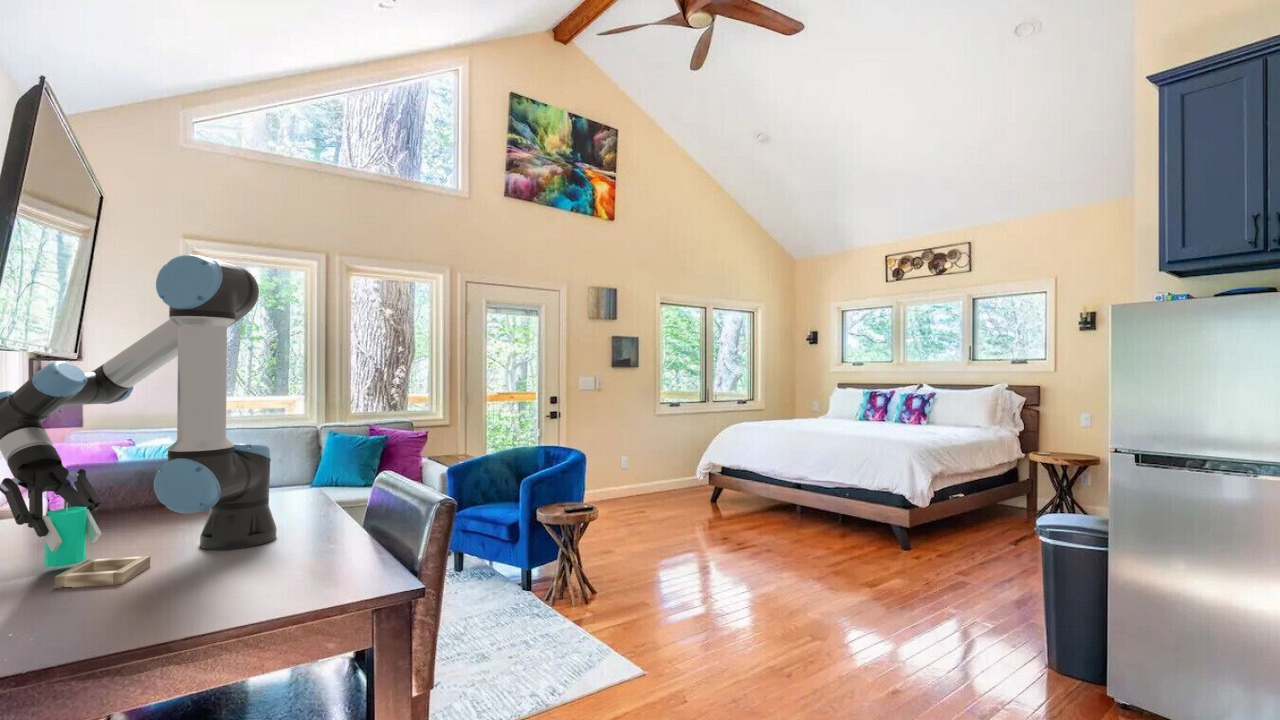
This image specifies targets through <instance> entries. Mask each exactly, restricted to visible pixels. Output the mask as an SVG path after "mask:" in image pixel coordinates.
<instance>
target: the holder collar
mask: <svg viewBox="0 0 1280 720" xmlns="http://www.w3.org/2000/svg"><path fill="white" fill-rule="evenodd" d="M151 557H152V556H151V555H146V556H145V555H144V556H143V555H142V556H125V557H107V558H92V559H87V560H84V561H82V562H80V563H78V564H77V565H75V566H73V567H71V568H69V569H67V570H65V571H63V572H61V573H59V574H57V575H55V576H54V583H53V584H54V586H53V587H54V588H58V589H63V588H62V587H72V588H83V587H85V586H86V587H97V586H98V587H100V586H101V587H102V586H113V585H114V586H115V585H123V584H125V583H127V582H128V581H129V580H132V579H133V578H135V577H136V576H138V575H139V574H141V573H144V571H146V570H147V569H149V568H150V567H151Z"/></svg>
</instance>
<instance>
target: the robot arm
mask: <svg viewBox="0 0 1280 720" xmlns="http://www.w3.org/2000/svg"><path fill="white" fill-rule="evenodd" d="M155 289H156V293H157V295H158V297H159V298H160V299H161V300H162V302H163V303H164V304H166V305H167V306H168V312H169V313H168V316H169V317H168V320H166V321H164V322H163V323H161V324H160V325H158V326H157V327H156V328H154V329H153V330H151V331H150V332H149V333H147V334H146V335H144V336H142V337H141V338H139V339H138V340H137V341H135V342H134V343H133V344H131V345H130V346H128V347H127V348H125V349H123V350H122V351H120V352H119V353H118V354H116V355H115V356H113V357H112V358H110V359H109V360H107V361H106V362H105V363H103V364H101V365H100V366H98V367H96V368H95V369H94V370H91V371H83V370H82V369H81V368H80V367H78V366H77V365H74V364H72V363H68V362H66V361H64V360H63V361H61V360H58V361H52V362H50V363H48V364H46V366H44V367H43V368H41V369H40V370H38V371H37V372H35V373H34V375H32V376H31V377H30V378H29V379H28V380H27V381H25V382H24V383H23V384H22V385H21V386H20V387H19V388H18V389H16V390H4V391H0V452H1V455H2V457H3V458H4V460H5V462H6V463H7V467H8V468H9V471H10V472H11V474H12V476H13V478H9V477H5V478H4V479H3V480H2V481H1V482H0V492H1V494H3V495H4V496H5V498H6V501H7V504H8V505H9V509H10V511H11V514H12V516H13V518H14V521H15V523H16V525H18V526H22V525H24V524H27V527H28V528H30V529H34V531H35V533H36V535H37V537H39V538H42V537H43V538H44V540H46V542H47V544H48V546H49V548H50V550H51V552H52V551H56V550H57V549H58V547H59V546H60V545H61V543H62V540H61V538H60V536H59V534H58V532H57V530H56V529H55V527H54V525H53V523H52V521H51V519H50V518H49V516H46V515H45V516H44V511H43V510H44V503H43V501H44V500H43V499H44V498H43V497H44V496H43V495H44V494H43V493H46V492H52V493H54V495H56V496H60V497H61V498H62V499H63V500H64V501H65V502H66V503H67V502H68V504H69V505H70V506H71V507H87V526H86V537H88V540H89V542H90V543H92V544H93V543H96V542H97V541H98V539H99V538H100V537H101V535H102V531H101V530H100V528H99V526H98V523H99V522H100V521H99V520H100V519H99V517H98V515H97V514H96V512H97V511H98V509H99V508H100V506H101V505H102V503H103V501H102V499H101V498H100V496H99V495H98V493H97V492H96V490H95V489H94V487H93V486H92V484H91V483H90V481H89V480H88V478H87V472H86V470H85V469H84V468H80V469H78V471H72V470H71V471H70V470H69V469H68V468H66V467H65V466H64V465H63V462H62V459H61V458H62V457H60V455H59V453H58V451H57V449H56V447H55V445H54V443H53V441H52V440H51V437H50V436H49V434H48V432H47V431H46V429H45V427H44V425H43V422H44V421H45V420H46V419H47V418H49V417H50V416H51V415H53V414H54V413H55V412H56V411H57V410H59V408H61V407H66V406H67V407H69V406H83V405H84V406H85V405H100V404H102V405H111V404H115V403H119V402H123V401H126V400H127V399H128V398H130V396H131V394H132V392H133V390H134V386H135V385H137V384H139V383H140V382H141V381H143V380H144V379H146V378H147V377H149V376H150V375H151V374H153V373H155V372H156V371H157V370H159V369H161V368H162V367H163V366H165V365H167V364H168V363H169V362H171V361H173V360H174V359H175V358H177V399H176V400H177V403H176V404H177V406H176V407H177V408H176V409H177V411H176V412H177V413H176V414H177V415H176V417H177V418H176V420H177V421H176V424H177V426H176V427H177V428H176V429H177V430H176V440H175V441H174V443H172V444H171V445H170V446H169V447H168V448H167V462H165V463H164V464H163V465H161V467H160V468H159V469H158V470H157V471H156V473H155V475H154V479H153V490H154V493H155V496H156V497H157V499H158V501H159V502H160V503H161V504H162V505H164V506H165V507H166V508H167V509H169V510H170V511H172V512H175V513H179V514H193V513H201V512H205V511H208V510H209V513H208V516H207V518H206V521H205V523H204V525H203V528H202V530H201V533H200V537H199V547H200V548H203V549H207V550H215V551H216V550H218V551H221V550H237V549H243V548H244V549H245V548H251V547H256V546H260V545H262V544H266V543H269V542H272V541H274V540H276V538H277V531H278V529H277V525H276V522H275V519H274V517H273V514H272V511H271V509H270V480H271V479H270V475H271V474H270V473H271V461H272V458H271V451H270V447H269V445H267V444H265V443H264V444H263V443H262V444H261V443H260V444H259V443H254V444H253V443H249V444H248V443H233V442H232V441H230V440H229V439H228V438H227V377H228V375H227V371H228V369H227V364H228V363H227V362H228V360H227V359H228V358H227V357H228V349H227V348H228V329H229V328H230V327H231V326H232V325H234V324H236V323H237V322H238V321H240V320H241V319H242V318H244V317H245V316H247V315H248V314H249V313H250V312H251V311H252V309H253V308H254V307H255V306H256V305H257V302H258V300H259V298H260V297H259V296H260V295H259V294H260V290H259V284H258V282H257V280H256V278H255V277H254V276H253V274H252V273H251V272H249V271H248V270H247V269H245V268H244V267H241V266H239V265H237V264H232V263H229V262H228V263H227V262H225V261H221V260H218V259H216V258H215V259H214V258H212V257H209V256H205V255H197V254H182V255H179V256H176V257H173V258H172V259H170V260H169V261H168V262H167V263H165V264H164V265H163V266H162V267H161V269H159V272H158V273H157V277H156V280H155ZM67 478H68V479H67ZM71 484H74V485H73V486H72V485H71ZM19 486H20V487H21V488H24V489H26V490H27V498H28V506H27V504H26V501H25V499H24V497H23V493H22V492H21V489H20V487H19ZM74 487H75V488H74Z"/></svg>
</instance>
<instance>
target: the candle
mask: <svg viewBox="0 0 1280 720" xmlns="http://www.w3.org/2000/svg"><path fill="white" fill-rule="evenodd" d="M68 504H69V503H68V502H67V501H66V506H65V507H64V508H60V509H59V510H48V511H47V512H46V513H45V516H49V518H50V519H51V521H52V523H53V525H54V527H55V529H56V530H57V532H58V534H59V536H60V538H61V540H62V543H61V545H60V546H59V547H58V549H57V550H56V551H52V552H51V550H50V548H49V546H48V544H47V542H46V540H45V539H44V540H45V543H44V566H45V567H47V568H56V567H57V568H58V567H64V566H65V567H66V566H70V565H76V564H77V565H78V564H80V563H83V562H85V561H86V557H87V556H86V553H87V534H86V526H87V507H72V506H71V507H68Z"/></svg>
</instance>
